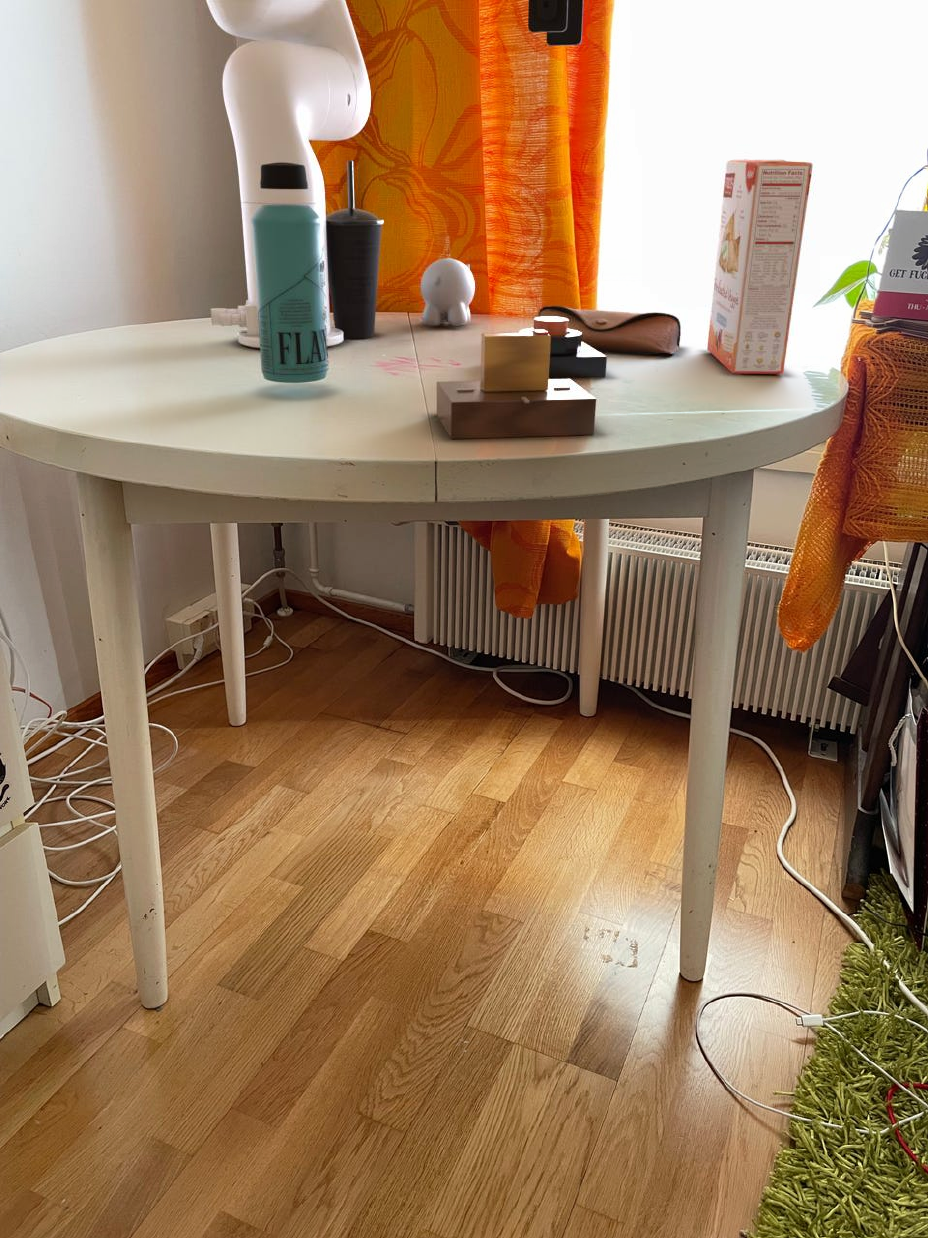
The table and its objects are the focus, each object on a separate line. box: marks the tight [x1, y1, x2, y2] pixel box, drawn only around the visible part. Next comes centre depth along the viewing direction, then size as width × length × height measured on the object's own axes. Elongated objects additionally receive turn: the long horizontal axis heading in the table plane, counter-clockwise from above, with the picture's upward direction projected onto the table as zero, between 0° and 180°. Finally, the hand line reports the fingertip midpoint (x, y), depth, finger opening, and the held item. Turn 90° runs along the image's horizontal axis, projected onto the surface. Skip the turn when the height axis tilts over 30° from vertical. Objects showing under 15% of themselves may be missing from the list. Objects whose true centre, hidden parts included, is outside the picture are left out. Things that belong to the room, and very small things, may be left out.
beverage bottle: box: [251, 162, 330, 384], centre depth 91 cm, size 6×7×20 cm
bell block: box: [518, 327, 608, 379], centre depth 105 cm, size 10×9×4 cm
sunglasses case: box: [537, 305, 682, 355], centre depth 119 cm, size 18×7×7 cm
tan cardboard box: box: [480, 330, 551, 392], centre depth 82 cm, size 6×2×5 cm, turn 100°
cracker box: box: [706, 158, 814, 375], centre depth 107 cm, size 14×6×21 cm, turn 178°
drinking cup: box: [326, 160, 385, 340], centre depth 120 cm, size 8×8×20 cm
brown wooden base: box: [436, 378, 597, 440], centre depth 84 cm, size 12×10×3 cm
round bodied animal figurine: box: [420, 257, 476, 327], centre depth 134 cm, size 7×12×8 cm, turn 166°
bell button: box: [533, 316, 568, 336], centre depth 104 cm, size 4×4×2 cm
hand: (556, 38), depth 86 cm, fingers open, 9 cm apart
